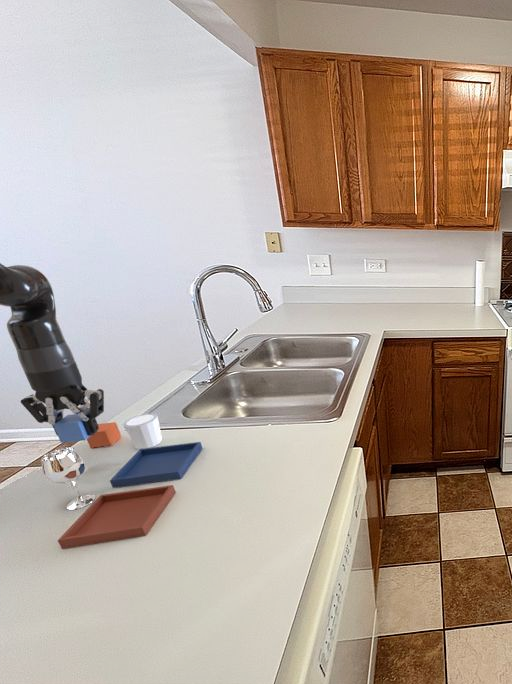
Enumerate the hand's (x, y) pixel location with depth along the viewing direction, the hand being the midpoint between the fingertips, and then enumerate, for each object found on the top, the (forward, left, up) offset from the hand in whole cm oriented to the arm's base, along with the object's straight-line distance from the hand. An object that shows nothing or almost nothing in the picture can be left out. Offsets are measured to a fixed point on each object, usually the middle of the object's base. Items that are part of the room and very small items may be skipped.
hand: (79, 434), depth 88 cm
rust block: (-5, +13, -10) cm, 17 cm away
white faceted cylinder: (+6, +10, -10) cm, 16 cm away
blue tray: (+14, -2, -10) cm, 17 cm away
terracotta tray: (+15, -19, -10) cm, 26 cm away
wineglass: (+4, -12, -10) cm, 16 cm away
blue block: (0, 0, 0) cm, 0 cm away
